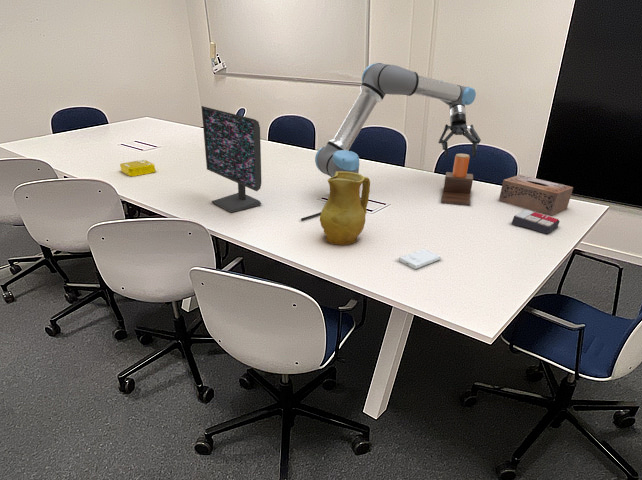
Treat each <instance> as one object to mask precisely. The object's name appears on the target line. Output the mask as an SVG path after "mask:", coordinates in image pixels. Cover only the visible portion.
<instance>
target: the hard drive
mask: <svg viewBox="0 0 642 480" xmlns="http://www.w3.org/2000/svg"><path fill="white" fill-rule="evenodd" d="M441 257H442V256H441V255H439V254H437V253H435V252H432V251H430V250H428V249H427V248H422V249H419V250H415V251H413V252H411V253H408V254H405V255H403V256H400V257H398V261H399V263H402V264H404V265H406V266H407V267H409V268H412V269H414V270H417V269H420V268H422V267H425V266H427V265H430V264H433V263H435V262H437V261H441Z"/></svg>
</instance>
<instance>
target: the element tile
mask: <svg viewBox="0 0 642 480" xmlns="http://www.w3.org/2000/svg"><path fill="white" fill-rule="evenodd" d="M119 167H120V170H121V173H123V174H125V175H127V176H129V177H137V176H142V175H148V174H153V173H156V167H155V163H152V162H150V161H148V160H146V159H139V160H134V161H129V162H122V163H120V164H119Z"/></svg>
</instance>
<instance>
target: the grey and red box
mask: <svg viewBox="0 0 642 480" xmlns="http://www.w3.org/2000/svg"><path fill="white" fill-rule="evenodd" d="M560 221H561V220H560V219H559V218H556V217H553V216H550V215H547V214H543V213H540V212H536V211H533V210H529V209H523V210H522V211H521V212H519V213H517V214H515V215H514V216H513V218H512V221H511V225H513V226H516V227H524V228H527V229H530V230H533V231H536V232H539V233H542V234H545V235H548V234H550V233H552V232H553V231H554V230H556V229H557V228H558V227H559V225H560Z"/></svg>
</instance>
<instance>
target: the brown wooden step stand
mask: <svg viewBox="0 0 642 480" xmlns="http://www.w3.org/2000/svg"><path fill="white" fill-rule="evenodd" d="M452 173H453V171H452V172H451V171H446V172H445V177H444V181H443V182H444V183H443V188H442V189H443V191H442V196H441V202H440V203H441V204H447V205H455V206H456V205H457V206H467V207H470V206H471V193H472V187H473V182H474V174H473V173H467V176H466V177H455V176H453V175H452Z"/></svg>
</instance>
